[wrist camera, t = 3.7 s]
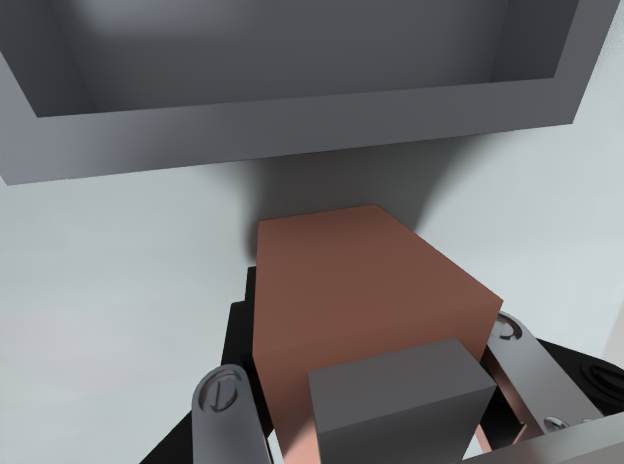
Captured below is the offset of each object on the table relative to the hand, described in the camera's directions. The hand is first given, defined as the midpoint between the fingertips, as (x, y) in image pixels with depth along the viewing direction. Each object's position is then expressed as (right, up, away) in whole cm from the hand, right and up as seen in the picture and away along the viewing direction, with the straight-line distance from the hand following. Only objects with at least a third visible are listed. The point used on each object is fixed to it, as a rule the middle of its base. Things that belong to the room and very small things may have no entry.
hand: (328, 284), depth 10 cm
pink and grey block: (0, 0, +1) cm, 1 cm away
